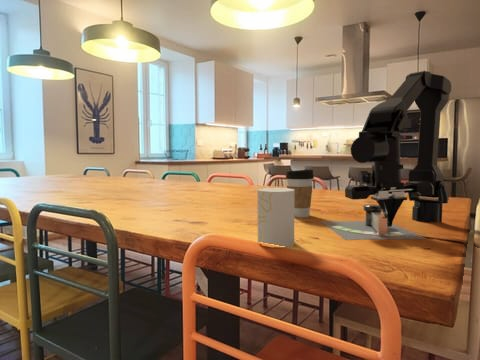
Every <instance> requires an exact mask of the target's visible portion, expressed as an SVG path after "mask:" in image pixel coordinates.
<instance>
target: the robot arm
mask: <svg viewBox="0 0 480 360" xmlns="http://www.w3.org/2000/svg"><path fill="white" fill-rule="evenodd" d="M451 92H452V82H451V80H449V79H448V78H447V77H445V76H444V75H439V74H434V73H432V72H430V71H427V70H422V71H416V72H411V73H409V74H407V75H406V77H405V80H404V81H403V83H401V84H400V85H399V87H398V88H397V89H396V90H395V92H394V93H393V94H392V95H391V97H390V98H388V99H386V100H384V101H383V102H380V103H378V104H376V105H375V106H374V107H372V108H371V110H370V111H369V113H368V116H367V118H366V120H365V122H364V125H363V128H362V130H361V131H358V137H357V138H355V139H354V140H353V142H352V144H351V147H350V154H351V157H352V159H353V160H354V161H355V162H357V163H360V164H364V163H373V164H372V165H371V172H369V171H368V170H360V171H359V172H358V183H359V184H352V185H351V184H350V185H346V186H345V188H344V189H345V190H344V197H345V198H347V199H350V200H367V199H368V198H369V197H370V199H371V200H373V201H376V202H377V205H379V206H380V207H381V209H382V214H383V216H384V217H386V218H387V226H388V227H392V224H393V223H394V222H393V221H394V219H395V217H396V215H397V212H398V210H399V209H400V207H401V206H402V204H403V203H404V201H408V199H409V201H411V202H412V201H413V203H414V204H413V206H412V209H411V210H412V215H411V217H412V218H411V219H412V220H413V221H415V222H424V223H439V222H440V223H443V224H444V222H443V204H448V203H449V199H450V197H449V196H450V194H449V191H448V189H447V186H446V185H445V184H446V183H445V182H444V174H443V173H442V171H441V169H440V168H439V166H438V157H439V140H440V126H441V112H442V111H443V110H444V108H445V107H446V105H447V103H448V102H449V100H450V99H449V97H450V94H451ZM414 102H415V105H416V106H417V108H418V110H419V112H420V118H419V119H420V121H419V128H418V130H419V132H418V148H417V160H416V161H417V163H416V165H415V167H414V168H413V169H410V170H409V171H408V181H406V182H405V183H404V182H402V170H404V164H402V163H401V141H403V139H404V136H403V135H402V134H400V132H401V131H402V129H403V128H404V126H405V124H406V123H407V121H408V119H409V117H408V113H407V112H408V110H409V109H410V108H411V106H412V105H413V104H414ZM405 194H407V195H408V197H406V196H405ZM409 201H408V202H409Z"/></svg>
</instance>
